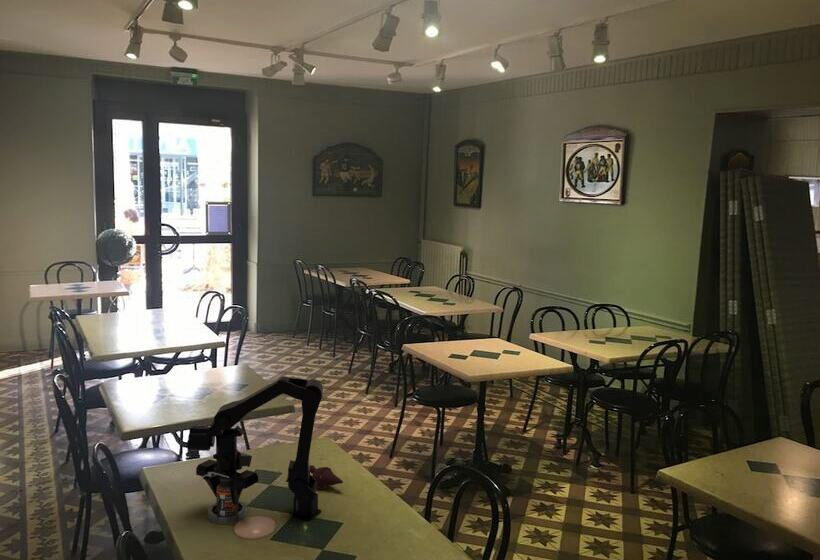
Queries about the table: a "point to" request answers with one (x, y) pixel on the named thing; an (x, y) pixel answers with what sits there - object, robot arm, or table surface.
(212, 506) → the cup collar
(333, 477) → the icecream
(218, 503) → the supplement bottle
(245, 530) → the terracotta saucer
